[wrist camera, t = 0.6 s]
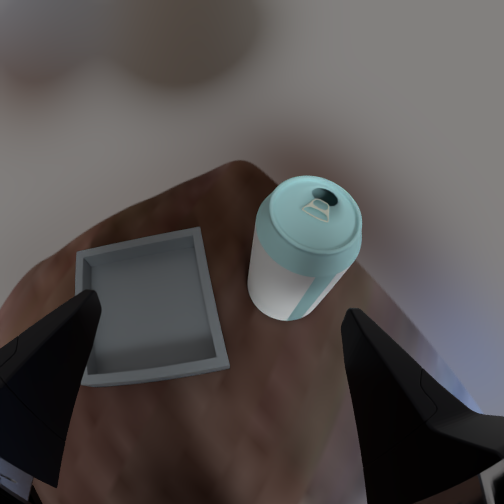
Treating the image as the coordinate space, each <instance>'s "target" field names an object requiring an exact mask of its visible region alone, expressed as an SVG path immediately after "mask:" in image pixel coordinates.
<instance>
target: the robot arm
mask: <svg viewBox="0 0 504 504" xmlns="http://www.w3.org/2000/svg"><path fill="white" fill-rule="evenodd" d="M101 313H102V307H101V304H100V301H99V298H98V294H97V292H96V291H95V290H91V289H85V290H83V291H82V292H80V293H79V294H77V295H76V296H74V297H73V298H71V299H70V300H68V301H67V302H65V303H64V304H62V305H61V306H59V307H58V308H57V309H55V310H54V311H52V312H51V313H49V314H48V315H46V316H45V317H44V318H42V319H41V320H39V321H38V322H36V323H35V324H34V325H32V326H31V327H29V328H28V329H27V330H25V331H24V332H23V333H21V334H20V335H19V336H17V337H16V338H14V339H13V340H12V341H10V342H9V343H8V344H6V345H5V346H3V347H2V348H0V504H42V502H41V500H40V498H39V496H38V494H37V492H36V490H35V488H34V486H33V485H32V483H33V479H34V477H35V478H36V479H38V480H40V481H42V482H44V483H46V484H49V485H51V486H53V487H55V488H57V485H58V479H59V472H60V467H61V461H62V456H63V451H64V446H65V441H66V436H67V432H68V428H69V424H70V420H71V416H72V412H73V408H74V405H75V401H76V398H77V394H78V391H79V387H80V384H81V381H82V378H83V374H84V371H85V368H86V365H87V362H88V359H89V356H90V354H91V351H92V347H93V344H94V340H95V336H96V332H97V328H98V324H99V320H100V317H101ZM341 335H342V343H343V353H344V363H345V369H346V374H347V379H348V384H349V389H350V394H351V399H352V404H353V409H354V415H355V420H356V426H357V432H358V438H359V444H360V450H361V457H362V463H363V467H364V468H363V471H364V479H365V487H366V495H367V504H504V417H503V416H492V415H484V414H479V413H476V412H474V411H472V410H471V409H469V408H468V407H467V406H466V405H464V404H463V403H462V402H461V401H459V400H458V399H457V398H456V397H455V396H453V395H452V394H451V393H450V392H449V391H447V390H446V389H445V388H444V387H443V386H442V385H440V384H439V383H438V382H437V381H436V380H435V379H434V378H433V377H432V376H431V375H429V374H428V373H427V372H426V371H425V370H424V369H423V368H422V367H421V366H420V365H419V364H418V363H417V362H416V361H415V360H414V359H413V358H412V357H411V356H410V355H409V354H408V353H407V352H406V351H405V350H404V349H402V348H401V347H400V346H399V345H398V344H397V343H396V342H395V341H394V340H393V339H392V338H391V337H390V336H389V335H388V334H387V333H386V332H385V331H383V330H382V329H381V328H380V327H379V326H378V325H377V324H376V323H375V322H374V321H373V320H372V319H371V318H369V317H368V316H367V315H366V314H365V313H364V312H363V311H362V310H361V309H359V308H349V309H348V310H347V312H346V315H345V317H344V320H343V322H342V325H341Z"/></svg>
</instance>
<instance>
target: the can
mask: <svg viewBox="0 0 504 504" xmlns="http://www.w3.org/2000/svg"><path fill="white" fill-rule="evenodd" d="M361 229H362V217H361V213H360V210H359V207H358V205H357V204H356V202H355V200H354V199H353V198H352V197H351V195H349V193H347V192H346V191H345V190H344V189H343V188H342V187H340V186H339V185H337V184H335V183H334V182H332V181H329V180H327V179H324V178H320V177H315V176H298V177H293V178H290V179H288V180H286V181H284V182H282V183H281V184H280V185H278V186H277V187H276V189H275V190H274V191H273V192H272V193H271V194H270V195H269V196H267V197H266V199H265V200H264V201H263V202H262V204H261V206H260V207H259V210H258V212H257V216H256V222H255V230H254V237H253V244H252V252H251V259H250V266H249V274H248V282H247V283H248V291H249V295H250V297H251V299H252V301H253V303H254V304H255V305H256V307H257V308H258V309H259V310H260V311H261V312H263V313H264V314H266V315H267V316H269V317H272V318H274V319H278V320H285V321H290V320H296V319H300V318H302V317H304V316H306V315H308V314H309V313H310V312H311V311H312V310H313V309H314V308H315V307H316V306H317V305H318V304H319V303H320V301H321V300H322V299H323V298H324V297H325V296H326V294H327V293H328V292H329V291H330V290H331V289H332V287H333V286H334V285H335V284H336V283H337V281H338V280H339V279H340V278H341V277H342V275H343V274H344V273H345V272H346V270H347V269H348V268H349V267H350V266H351V264H352V263H353V262H354V260H355V259H356V257H357V256H358V253H359V251H360V247H361V242H362V233H361Z"/></svg>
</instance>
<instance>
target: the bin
mask: <svg viewBox="0 0 504 504" xmlns="http://www.w3.org/2000/svg"><path fill="white" fill-rule="evenodd" d="M85 289H91V290H95V291H96V292H97V294H98V298H99V301H100V304H101V307H102V313H101V317H100V320H99V324H98V328H97V332H96V336H95V340H94V344H93V347H92V351H91V354H90V356H89V359H88V362H87V365H86V368H85V371H84V374H83V378H82V381H81V385H85V386H91V387H107V386H119V385H129V384H138V383H147V382H155V381H162V380H169V379H176V378H182V377H188V376H194V375H199V374H205V373H210V372H215V371H220V370H225V369H230V364H229V360H228V356H227V352H226V348H225V344H224V339H223V335H222V331H221V326H220V322H219V318H218V313H217V309H216V304H215V299H214V295H213V290H212V285H211V280H210V276H209V271H208V266H207V261H206V256H205V250H204V245H203V240H202V235H201V229H200V227H195V228H189V229H184V230H179V231H174V232H168V233H163V234H158V235H153V236H148V237H143V238H138V239H134V240H129V241H124V242H119V243H114V244H110V245H105V246H101V247H96V248H92V249H87V250H83V251H78V252H77V256H76V277H75V296H76V295H77V294H79V293H80V292H82V291H83V290H85Z"/></svg>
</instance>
